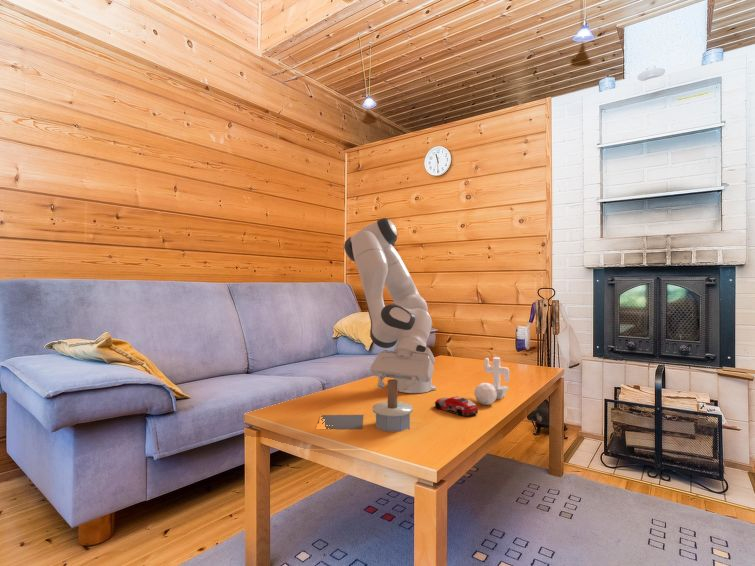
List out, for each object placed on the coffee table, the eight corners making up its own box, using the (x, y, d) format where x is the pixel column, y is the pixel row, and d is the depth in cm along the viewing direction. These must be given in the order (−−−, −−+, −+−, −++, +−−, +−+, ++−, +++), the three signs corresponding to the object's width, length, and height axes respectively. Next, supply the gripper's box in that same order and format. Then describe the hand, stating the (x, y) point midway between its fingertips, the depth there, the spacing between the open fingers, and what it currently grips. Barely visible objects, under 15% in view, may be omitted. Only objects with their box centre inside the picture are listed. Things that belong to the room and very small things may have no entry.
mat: (320, 416, 140) (320, 415, 140) (363, 415, 140) (363, 414, 140) (314, 430, 126) (314, 429, 126) (362, 430, 126) (362, 429, 126)
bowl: (375, 421, 134) (375, 405, 134) (407, 421, 134) (407, 405, 134) (376, 432, 124) (376, 415, 124) (410, 432, 124) (410, 415, 124)
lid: (372, 404, 135) (372, 376, 135) (410, 404, 135) (410, 376, 135) (372, 416, 123) (372, 385, 123) (414, 416, 123) (414, 384, 123)
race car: (431, 408, 150) (431, 394, 150) (444, 404, 154) (444, 391, 154) (466, 419, 137) (466, 403, 137) (480, 415, 141) (480, 400, 141)
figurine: (506, 400, 158) (506, 360, 158) (481, 397, 163) (481, 357, 163) (511, 396, 164) (511, 357, 164) (487, 393, 169) (487, 355, 169)
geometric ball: (483, 413, 152) (473, 397, 149) (478, 399, 159) (468, 384, 157) (503, 403, 150) (492, 387, 148) (497, 390, 158) (487, 374, 155)
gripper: (376, 344, 141) (360, 379, 133) (433, 348, 130) (420, 387, 122) (383, 355, 145) (368, 390, 137) (439, 361, 134) (426, 399, 126)
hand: (393, 389), depth 129 cm, fingers open, 8 cm apart
